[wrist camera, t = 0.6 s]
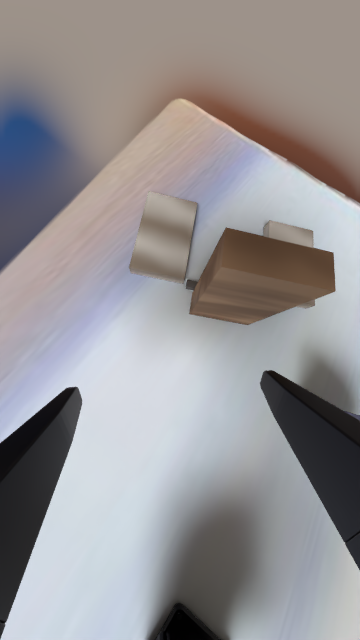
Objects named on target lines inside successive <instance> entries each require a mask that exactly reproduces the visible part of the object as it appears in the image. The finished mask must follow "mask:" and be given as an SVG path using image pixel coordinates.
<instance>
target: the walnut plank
mask: <svg viewBox="0 0 360 640" xmlns="http://www.w3.org/2000/svg"><path fill="white" fill-rule="evenodd" d="M332 292H335V273H334V255H333V252H329V251H324V250H320V249H316V248H311V247H307V246H303V245H299V244H294V243H290V242H286V241H281V240H277V239H273V238H269V237H264V236H260V235H256V234H251V233H247V232H243V231H239V230H234V229H230V228H225V230H224V232H223V234H222V236H221V238H220V240H219V242H218V244H217V246H216V248H215V250H214V252H213V254H212V256H211V258H210V260H209V262H208V264H207V266H206V267H205V269H204V271H203V273H202V275H201V277H200V279H199V281H198V283H197V285H196V287H195V289H194V291H193V293H192V300H191V306H190V313H189V314H192V315H197V316H203V317H208V318H213V319H218V320H224V321H229V322H234V323H240V324H245V325H249V324H251V323H254V322H256V321H259V320H262V319H264V318H267V317H270V316H272V315H275V314H277V313H280V312H283V311H285V310H288V309H290V308H293V307H296V306H298V305H301V304H304V303H306V302H309V301H311V300H314V299H317V298H319V297H322V296H324V295H327V294H330V293H332Z"/></svg>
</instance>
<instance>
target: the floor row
mask: <svg viewBox="0 0 360 640" xmlns="http://www.w3.org/2000/svg"><path fill="white" fill-rule="evenodd" d="M196 208H197V203H196V202H191V201H187V200H183V199H179V198H175V197H171V196H167V195H162V194H158V193H154V192H150V191H149V192H148V196H147V199H146V203H145V207H144V211H143V215H142V219H141V223H140V227H139V231H138V235H137V239H136V242H135V246H134V250H133V254H132V258H131V262H130V266H129V269H130V272H131V273H132V274H137V275H142V276H147V277H152V278H157V279H162V280H167V281H172V282H177V283H182V284H183V282H184V278H185V273H186V267H187V261H188V255H189V249H190V243H191V237H192V231H193V225H194V219H195V214H196ZM263 236H264V237H269V238H273V239H277V240H281V241H286V242H290V243H294V244H299V245H303V246H307V247H311V248H314V247H313V231H312V230H307V229H303V228H299V227H295V226H291V225H287V224H283V223H278V222H274V221H270V220H269V222H268V223H267V224H266V225H265V227H264V231H263ZM197 283H198V282H196V281H191V280H187V284H186V289H191V290H194V289H195V287H196V285H197ZM312 306H315V299H314V300H311V301H309V302H306V303H304V304H301V305H298V306H296V307H300V308H305V309H306V308H309V307H312Z"/></svg>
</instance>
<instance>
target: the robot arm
mask: <svg viewBox="0 0 360 640" xmlns="http://www.w3.org/2000/svg"><path fill="white" fill-rule="evenodd" d="M260 386H261V389H262V391H263V393H264V395H265V398H266V400H267V402H268V404H269V407H270V409H271V411H272V413H273V415H274V417H275V419H276V421H277V423H278V425H279V426H280V428H281V430H282V432H283V434H284V435H285V437H286V439H287V441H288V442H289V444H290V446H291V448H292V450H293V451H294V453H295V455H296V457H297V459H298V460H299V462H300V464H301V466H302V468H303V469H304V471H305V473H306V475H307V476H308V478H309V480H310V482H311V484H312V485H313V487H314V489H315V491H316V493H317V494H318V496H319V498H320V500H321V501H322V503H323V505H324V507H325V509H326V510H327V512H328V514H329V516H330V518H331V519H332V521H333V523H334V525H335V526H336V528H337V530H338V532H339V534H340V535H341V537H342V539H343V541H344V542H345V545H346V546H347V548H348V550H349V552H350V554H351V555H352V557H353V559H354V561H355V563H356V564H357V566H358V568H359V570H360V421H359V420H358V419H357V418H355V417H353V416H351V415H350V414H348V413H346V412H344V411H343V410H341V409H339V408H337V407H336V406H334V405H332V404H330V403H329V402H327V401H325V400H323V399H322V398H320V397H318V396H316V395H315V394H313V393H311V392H309V391H308V390H306V389H304V388H303V387H301V386H299V385H297V384H296V383H294V382H292V381H290V380H289V379H287V378H285V377H283V376H282V375H280V374H278V373H276V372H275V371H272V370H269V371H264V372H263V375H262V378H261V382H260ZM81 406H82V398H81V395H80V392H79V389H78V387H69V388H66V389H65V390H64V391H62V392H61V393H60V394H59V395H58V396H56V397H55V398H54V399H53V400H52V401H50V402H49V403H48V404H47V405H46V406H44V407H43V408H42V409H41V410H40V411H38V412H37V413H36V414H35V415H34V416H32V417H31V418H30V419H29V420H28V421H26V422H25V423H24V424H23V425H22V426H20V427H19V428H18V429H17V430H16V431H14V432H13V433H12V434H11V435H10V436H8V437H7V438H6V439H5V440H4V441H2V442H1V443H0V638H1V636H2V633H3V630H4V627H5V622H6V621H7V619H8V616H9V613H10V611H11V608H12V605H13V602H14V600H15V597H16V594H17V591H18V589H19V586H20V583H21V580H22V578H23V575H24V572H25V570H26V567H27V564H28V561H29V559H30V556H31V553H32V550H33V548H34V545H35V542H36V539H37V537H38V534H39V531H40V529H41V526H42V523H43V520H44V518H45V515H46V512H47V509H48V507H49V504H50V501H51V498H52V496H53V493H54V490H55V488H56V485H57V482H58V479H59V477H60V474H61V471H62V468H63V466H64V463H65V460H66V457H67V455H68V452H69V449H70V446H71V444H72V441H73V437H74V433H75V429H76V425H77V422H78V418H79V414H80V410H81ZM178 613H180V614H178ZM156 640H220V639H219V638H218V637H217V636H216V635H215V634H213V633H212V632H211V631H210V630H209V629H208V628H207V627H206V626H205V625H204V624H203V623H202V622H201V621H200V620H198V619H197V618H196V617H195V616H194V615H193V614H192V613H191V612H190V611H189V610H188V609H187V608H186V607H184V606H183V605H182V604H181V603H178V604H176V605H175V607H174V608H173V610H172V612H171V614H170V616H169V617H168V619H167V621H166V623H165V625H164V626H163V628H162V630H161V632H160V633H159V635H158V636H157V638H156Z"/></svg>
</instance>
